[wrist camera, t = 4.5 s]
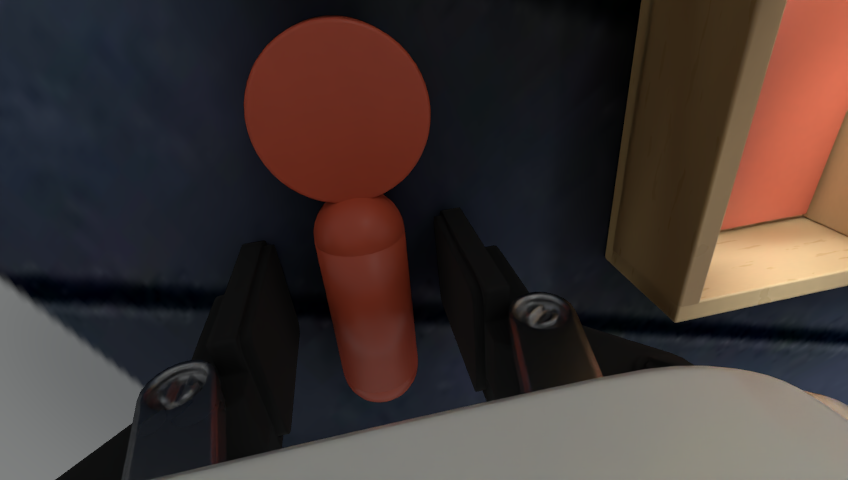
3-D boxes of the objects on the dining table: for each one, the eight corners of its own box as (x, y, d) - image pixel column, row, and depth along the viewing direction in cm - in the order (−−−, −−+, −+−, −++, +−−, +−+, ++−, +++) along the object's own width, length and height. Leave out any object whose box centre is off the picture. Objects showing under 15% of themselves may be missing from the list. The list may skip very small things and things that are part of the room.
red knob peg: (232, 23, 9) (205, 28, 7) (413, 7, 9) (434, 10, 7) (322, 373, 14) (322, 431, 12) (437, 351, 14) (453, 405, 12)
